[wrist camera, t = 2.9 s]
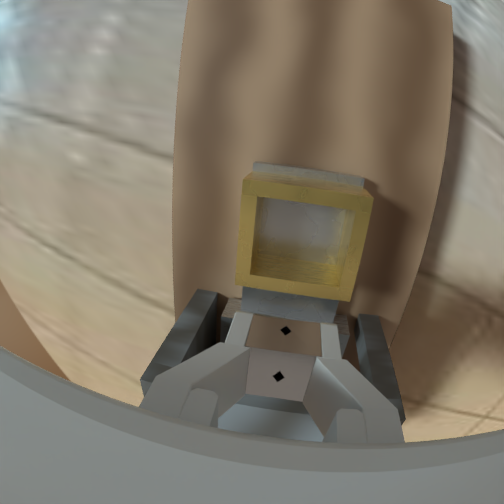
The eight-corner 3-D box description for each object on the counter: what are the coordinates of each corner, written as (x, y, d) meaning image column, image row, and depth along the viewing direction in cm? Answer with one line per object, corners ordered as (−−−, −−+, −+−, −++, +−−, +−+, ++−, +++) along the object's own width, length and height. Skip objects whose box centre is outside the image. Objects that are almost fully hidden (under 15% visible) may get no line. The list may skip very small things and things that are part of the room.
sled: (377, 178, 18) (395, 192, 14) (294, 458, 31) (291, 486, 27) (239, 158, 19) (222, 167, 15) (222, 446, 32) (214, 474, 28)
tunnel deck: (432, 20, 16) (525, -46, 3) (317, 461, 37) (310, 542, 24) (209, -9, 18) (123, -98, 5) (198, 442, 39) (170, 518, 27)
